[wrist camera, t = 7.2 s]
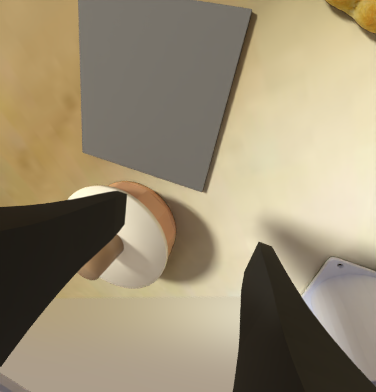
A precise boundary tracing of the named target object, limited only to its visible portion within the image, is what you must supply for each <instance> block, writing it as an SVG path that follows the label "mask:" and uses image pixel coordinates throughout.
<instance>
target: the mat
mask: <svg viewBox="0 0 376 392" xmlns="http://www.w3.org/2000/svg"><path fill="white" fill-rule="evenodd" d="M78 9H79V44H80V79H81V114H82V149H83V153H86V154H89V155H92V156H95V157H98V158H101V159H104V160H107V161H110V162H113V163H116V164H119V165H122V166H125V167H128V168H131V169H134V170H137V171H140V172H143V173H146V174H149V175H152V176H155V177H158V178H161V179H164V180H167V181H170V182H173V183H176V184H179V185H182V186H185V187H188V188H191V189H194V190H197V191H200V192H202V191H203V188H204V185H205V181H206V177H207V174H208V170H209V166H210V163H211V159H212V156H213V152H214V148H215V145H216V141H217V137H218V134H219V130H220V126H221V123H222V119H223V116H224V112H225V108H226V105H227V101H228V97H229V94H230V90H231V86H232V83H233V79H234V76H235V72H236V68H237V65H238V61H239V57H240V54H241V50H242V46H243V43H244V39H245V36H246V32H247V28H248V25H249V21H250V17H251V14H252V9H248V8H241V7H235V6H228V5H222V4H215V3H209V2H202V1H196V0H78Z"/></svg>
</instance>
